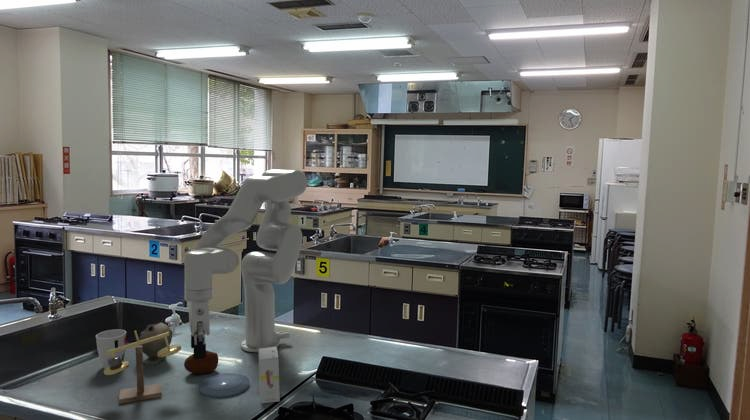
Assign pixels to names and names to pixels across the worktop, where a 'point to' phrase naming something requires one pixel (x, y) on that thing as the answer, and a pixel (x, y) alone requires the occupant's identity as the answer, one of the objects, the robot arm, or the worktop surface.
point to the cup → (110, 344)
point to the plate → (224, 385)
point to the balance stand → (140, 384)
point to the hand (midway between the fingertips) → (198, 352)
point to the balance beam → (116, 362)
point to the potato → (202, 363)
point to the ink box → (269, 375)
